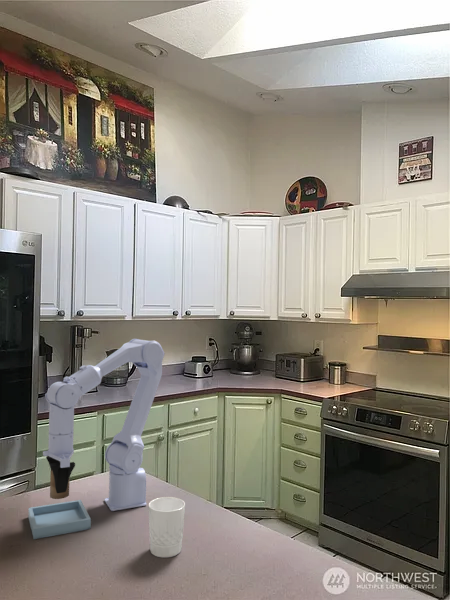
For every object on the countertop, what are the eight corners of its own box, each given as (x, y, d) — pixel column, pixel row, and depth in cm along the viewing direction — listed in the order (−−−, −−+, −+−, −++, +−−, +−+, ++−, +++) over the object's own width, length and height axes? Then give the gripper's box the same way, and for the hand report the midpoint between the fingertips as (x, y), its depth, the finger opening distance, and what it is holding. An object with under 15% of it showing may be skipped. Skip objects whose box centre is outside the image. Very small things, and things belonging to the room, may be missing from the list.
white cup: (189, 545, 108) (190, 500, 108) (174, 562, 101) (175, 513, 101) (157, 538, 111) (158, 494, 111) (140, 555, 103) (142, 508, 104)
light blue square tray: (80, 508, 126) (80, 499, 126) (90, 528, 115) (90, 519, 115) (28, 517, 121) (28, 507, 121) (33, 539, 109) (33, 528, 109)
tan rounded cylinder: (67, 491, 121) (68, 466, 121) (70, 497, 117) (70, 472, 117) (49, 493, 119) (49, 468, 119) (50, 500, 115) (51, 474, 115)
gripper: (40, 426, 123) (38, 481, 123) (47, 441, 110) (45, 502, 110) (69, 424, 126) (67, 477, 126) (79, 438, 113) (78, 497, 113)
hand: (59, 488), depth 118 cm, fingers closed on tan rounded cylinder, 4 cm apart
